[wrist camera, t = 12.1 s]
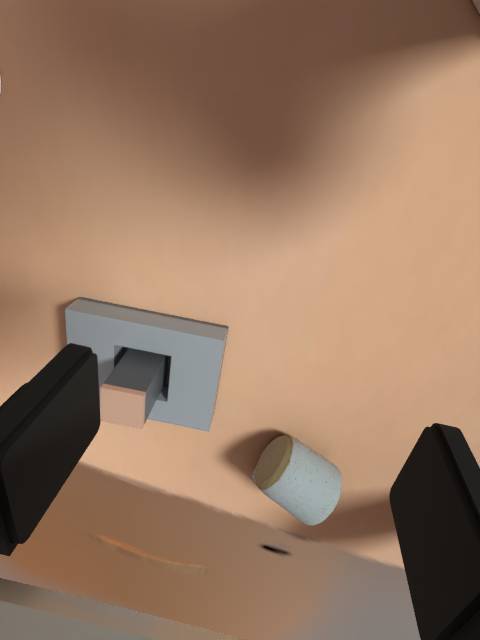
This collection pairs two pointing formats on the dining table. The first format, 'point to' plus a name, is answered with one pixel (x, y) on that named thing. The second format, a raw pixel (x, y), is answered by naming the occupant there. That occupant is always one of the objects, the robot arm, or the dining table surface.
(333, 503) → the ceramic mug
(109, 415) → the charger
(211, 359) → the outlet box
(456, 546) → the robot arm
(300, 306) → the dining table surface
